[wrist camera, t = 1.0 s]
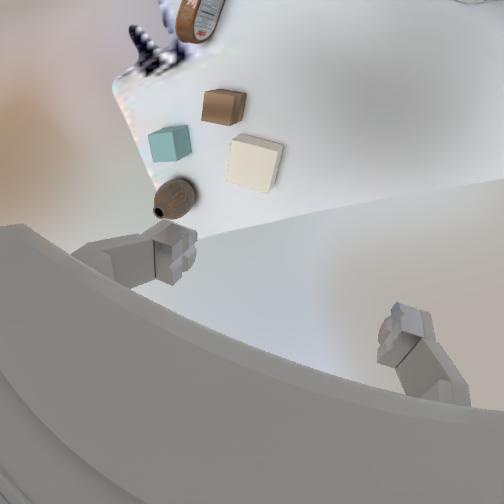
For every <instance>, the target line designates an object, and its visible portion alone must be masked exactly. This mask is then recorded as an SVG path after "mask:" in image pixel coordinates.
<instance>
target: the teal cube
mask: <svg viewBox="0 0 504 504" xmlns="http://www.w3.org/2000/svg"><path fill="white" fill-rule="evenodd" d="M148 140H149V144H150V149H151V154H152V159H153V162H169V161H178V160H180V159H181V158H183V157H185V156H186V155H188V154H189V153H191V152H192V150H191V143H190V137H189V131H188V125H184V126H176V127H168V128H163V129H161V130H158V131H156V132H154V133H151V134H149V135H148Z"/></svg>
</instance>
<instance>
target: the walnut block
mask: <svg viewBox="0 0 504 504" xmlns="http://www.w3.org/2000/svg"><path fill="white" fill-rule="evenodd" d="M246 94H247V93H241V92H236V91H230V90H223V89H216V90H211V91H206V92H205V94H204V102H203V110H202V119H201V121H206V122H211V123H216V124H221V125H226V126H231V125H233V124H235V123H237V122H239V121H242V117H243V111H244V106H245V100H246Z"/></svg>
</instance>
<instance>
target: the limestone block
mask: <svg viewBox="0 0 504 504" xmlns="http://www.w3.org/2000/svg"><path fill="white" fill-rule="evenodd" d="M283 146H284V145H282V144H279V143H275V142H271V141H268V140H264V139H260V138H256V137H252V136H248V135H244V134H240V135H238V136H237V137H235V138H233V139H232V140H231V146H230V153H229V160H228V167H227V174H226V182H230V183H233V184H236V185H240V186H243V187H247V188H250V189H253V190H256V191H260V192H263V193H266V194H268V193H269V192H270V190H271V189H272V187H273V186H274V184H275V180H276V176H277V172H278V167H279V163H280V159H281V155H282V151H283Z"/></svg>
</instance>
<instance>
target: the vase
mask: <svg viewBox="0 0 504 504" xmlns="http://www.w3.org/2000/svg"><path fill="white" fill-rule="evenodd" d="M194 200H195V193H194V190H193V188H192V186H191V185H190V184H189V183H188V182H186V181H184V180H182V179H173V180H170V181H168V182H166V183H164V184H163V185H162V186H161V187H160V188H159V189H158V191H157V192H156V195H155V198H154V209H153V213H154V215H155V216H156V217H157V218H159V219H163V218H166V219H177V218H180V217H182V216H184V215H185V214H186V213H188V211H189V210H190V209H191V208H192V206H193V203H194Z"/></svg>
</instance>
